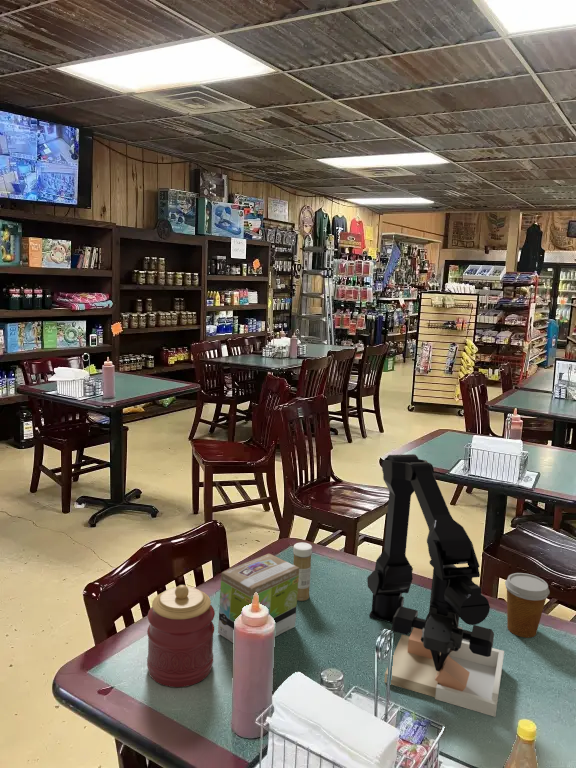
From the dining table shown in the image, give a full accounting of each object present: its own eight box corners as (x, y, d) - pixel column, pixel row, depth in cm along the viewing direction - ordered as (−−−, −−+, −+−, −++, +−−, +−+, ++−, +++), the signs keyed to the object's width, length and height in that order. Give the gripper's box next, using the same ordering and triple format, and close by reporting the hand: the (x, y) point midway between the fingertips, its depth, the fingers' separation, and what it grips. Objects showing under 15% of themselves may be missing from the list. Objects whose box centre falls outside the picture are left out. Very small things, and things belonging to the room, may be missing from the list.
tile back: (407, 652, 131) (408, 639, 131) (412, 639, 136) (413, 627, 135) (431, 658, 129) (433, 645, 129) (436, 646, 134) (437, 633, 133)
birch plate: (384, 682, 124) (385, 673, 124) (401, 642, 138) (402, 634, 138) (435, 697, 121) (436, 688, 120) (447, 655, 134) (448, 646, 134)
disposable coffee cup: (520, 645, 139) (527, 595, 137) (491, 623, 148) (496, 575, 146) (553, 637, 143) (559, 588, 141) (522, 615, 152) (528, 569, 150)
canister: (216, 650, 132) (219, 571, 129) (208, 690, 119) (211, 604, 116) (154, 647, 132) (155, 568, 129) (139, 687, 119) (140, 601, 116)
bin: (435, 699, 120) (436, 680, 120) (448, 654, 135) (449, 637, 134) (495, 716, 116) (497, 697, 115) (502, 668, 131) (504, 651, 130)
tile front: (434, 679, 122) (443, 669, 121) (439, 665, 126) (447, 655, 125) (457, 697, 120) (465, 687, 119) (461, 682, 125) (469, 672, 124)
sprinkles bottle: (306, 591, 158) (309, 541, 156) (311, 601, 154) (314, 549, 151) (289, 592, 157) (291, 542, 155) (293, 602, 153) (295, 550, 150)
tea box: (248, 654, 131) (251, 588, 129) (217, 634, 138) (218, 571, 135) (297, 627, 142) (300, 565, 140) (265, 609, 149) (267, 550, 146)
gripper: (387, 603, 117) (381, 679, 120) (492, 629, 110) (482, 710, 113) (401, 578, 127) (395, 648, 130) (498, 601, 120) (489, 675, 123)
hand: (438, 670), depth 124 cm, fingers closed
